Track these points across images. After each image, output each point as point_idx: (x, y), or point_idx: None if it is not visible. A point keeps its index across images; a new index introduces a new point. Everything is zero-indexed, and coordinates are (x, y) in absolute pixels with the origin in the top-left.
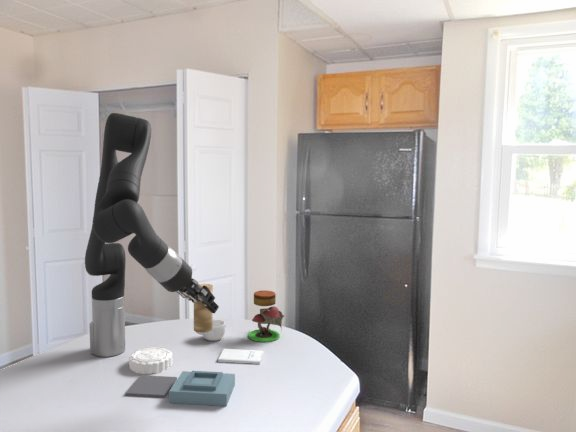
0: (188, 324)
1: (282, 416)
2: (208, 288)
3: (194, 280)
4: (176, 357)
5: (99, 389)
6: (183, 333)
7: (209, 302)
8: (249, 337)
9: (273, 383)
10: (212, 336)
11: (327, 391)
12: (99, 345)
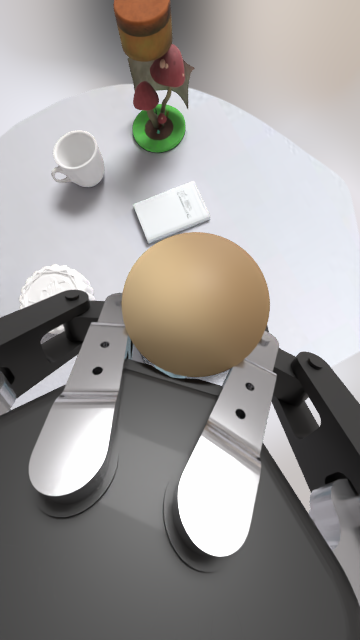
0: (18, 150)
1: (324, 337)
2: (265, 327)
3: (241, 531)
4: (81, 261)
5: None
6: (34, 183)
7: (303, 400)
8: (142, 146)
9: (261, 262)
10: (93, 181)
11: (342, 246)
12: None
